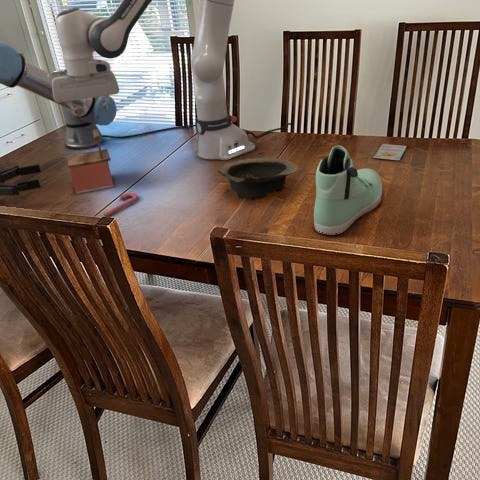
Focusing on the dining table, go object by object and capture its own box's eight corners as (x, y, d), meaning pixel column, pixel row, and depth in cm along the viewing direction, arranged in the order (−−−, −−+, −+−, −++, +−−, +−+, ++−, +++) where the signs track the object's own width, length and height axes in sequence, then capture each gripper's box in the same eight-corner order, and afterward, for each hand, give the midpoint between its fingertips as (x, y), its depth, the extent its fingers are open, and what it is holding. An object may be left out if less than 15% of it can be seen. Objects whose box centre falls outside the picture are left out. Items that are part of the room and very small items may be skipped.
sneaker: (389, 187, 148) (396, 123, 138) (356, 242, 123) (361, 168, 112) (346, 181, 154) (350, 119, 144) (306, 232, 129) (307, 161, 118)
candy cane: (93, 214, 147) (92, 209, 146) (129, 194, 157) (128, 190, 156) (106, 218, 144) (105, 214, 143) (142, 198, 154) (141, 194, 153)
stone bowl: (243, 213, 140) (240, 183, 136) (209, 189, 160) (205, 162, 156) (313, 190, 149) (312, 161, 144) (272, 170, 169) (270, 144, 165)
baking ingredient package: (373, 156, 168) (382, 143, 180) (373, 158, 168) (382, 144, 180) (399, 159, 165) (407, 145, 176) (399, 160, 165) (406, 146, 176)
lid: (107, 151, 167) (102, 127, 163) (110, 160, 159) (105, 135, 155) (68, 158, 164) (61, 133, 160) (69, 168, 156) (62, 142, 152)
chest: (110, 176, 172) (105, 151, 167) (113, 186, 164) (108, 161, 159) (74, 183, 169) (68, 158, 164) (76, 194, 161) (69, 168, 156)
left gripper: (-21, 184, 166) (43, 172, 171) (-31, 215, 145) (42, 200, 151) (-29, 163, 162) (37, 152, 167) (-40, 192, 141) (35, 178, 147)
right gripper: (45, 74, 142) (58, 119, 150) (114, 64, 147) (123, 109, 155) (45, 70, 148) (57, 114, 155) (112, 61, 153) (121, 104, 160)
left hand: (39, 175), depth 159 cm, fingers open, 13 cm apart
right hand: (91, 111), depth 155 cm, fingers open, 8 cm apart
